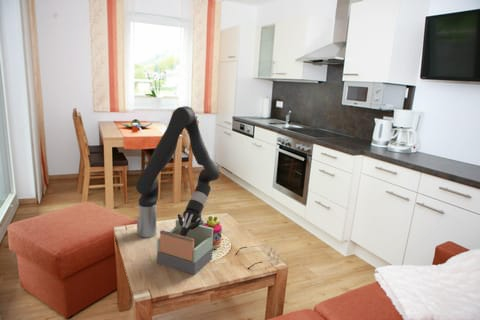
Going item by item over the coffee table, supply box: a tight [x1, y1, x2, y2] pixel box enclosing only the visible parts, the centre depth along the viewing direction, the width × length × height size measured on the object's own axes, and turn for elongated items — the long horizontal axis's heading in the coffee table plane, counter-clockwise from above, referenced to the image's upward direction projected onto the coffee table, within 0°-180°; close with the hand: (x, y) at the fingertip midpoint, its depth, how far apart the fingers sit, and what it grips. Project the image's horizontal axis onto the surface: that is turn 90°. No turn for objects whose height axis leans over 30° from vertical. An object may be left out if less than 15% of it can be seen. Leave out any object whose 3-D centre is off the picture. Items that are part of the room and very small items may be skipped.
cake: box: [202, 215, 223, 251], centre depth 176 cm, size 10×11×15 cm
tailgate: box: [159, 229, 194, 261], centre depth 151 cm, size 1×17×10 cm, turn 66°
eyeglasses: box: [234, 242, 281, 270], centre depth 167 cm, size 16×19×5 cm
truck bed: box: [156, 218, 213, 276], centre depth 159 cm, size 16×20×16 cm
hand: (182, 236), depth 155 cm, fingers closed
